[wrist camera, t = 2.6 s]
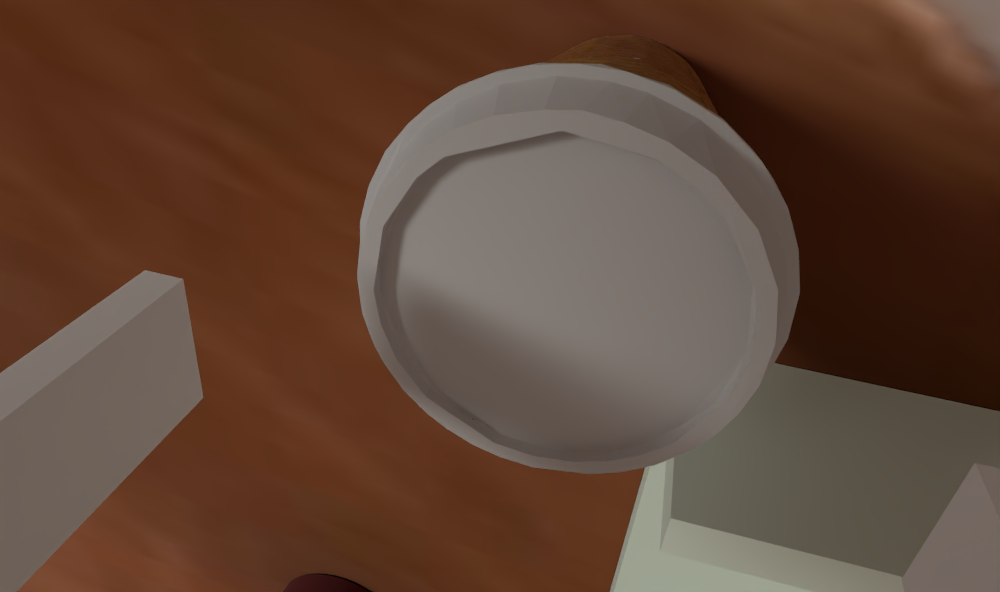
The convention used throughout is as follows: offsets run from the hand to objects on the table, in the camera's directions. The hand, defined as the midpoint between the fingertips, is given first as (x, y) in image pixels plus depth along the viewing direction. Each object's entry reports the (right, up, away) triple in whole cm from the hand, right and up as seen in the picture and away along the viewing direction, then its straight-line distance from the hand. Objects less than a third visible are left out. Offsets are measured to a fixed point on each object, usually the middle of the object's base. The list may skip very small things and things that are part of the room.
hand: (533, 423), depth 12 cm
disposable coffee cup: (+3, +8, +12) cm, 15 cm away
